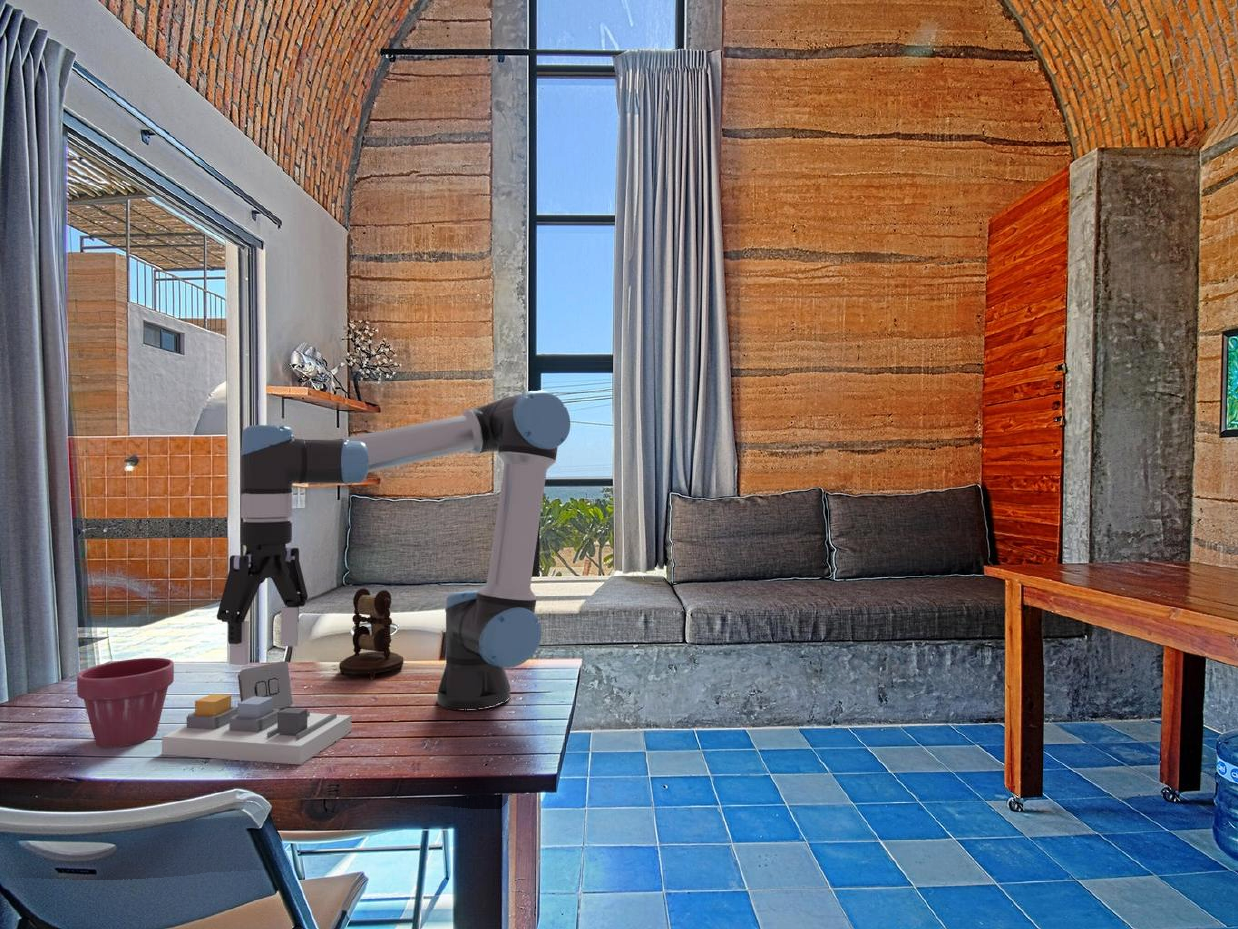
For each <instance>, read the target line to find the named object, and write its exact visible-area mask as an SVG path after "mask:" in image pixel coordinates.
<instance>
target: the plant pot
mask: <svg viewBox="0 0 1238 929" xmlns="http://www.w3.org/2000/svg"><path fill="white" fill-rule="evenodd" d="M174 675H175V665H174V661H173V660H171V659H168V658H165V657H164V658H162V657H143V658H141V657H139V658H132V659H123V660H117V661H113V662H108V663H103V664H99V665H96V666H93V667H89V668H87V669H85V670H83V671H81V672H80V673H78V674H77V677H76V693H77V694H76V695H77V697H78V698H79V699H81V700H83V701H84V705H85V709H86V714H87V717H88V721H89V724H90V728H91V731H92V735H93V738H94V742H95V745H96V746H97V745H98V747H100V748H119V747H124V746H125V747H127V746H130V745H135V744H138V743H141V742H144V741H147V740H149V739H151V738H153V737H154V736H155V735H156V734H157V733H158V729H159V726H160V721H161V716H162V712H163V708H164V705H165V701H166V697H167V692H168V689H169V687H170V686H171V685H172V684H173V683H174V680H175V679H174V678H175V676H174Z"/></svg>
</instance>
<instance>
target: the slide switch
mask: <svg viewBox="0 0 1238 929" xmlns="http://www.w3.org/2000/svg"><path fill="white" fill-rule="evenodd" d="M307 712H308V708H302V707H300V708H299V707H286V708H282V709H281V711H279V712H278V722H277V733H280V734H295V735H296V734H298V733H300V732H301V731H303V730H305V729H307Z"/></svg>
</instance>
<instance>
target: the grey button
mask: <svg viewBox="0 0 1238 929" xmlns="http://www.w3.org/2000/svg"><path fill="white" fill-rule="evenodd" d="M237 707H238V718H249V719H260V718H262V717H264V716H266V715H268V714H270V713H272V712H273V697H255V696H253V697H251V698H249V699H246V700H244V701H242V702H241V701H240V702H237Z"/></svg>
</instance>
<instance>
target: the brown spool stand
mask: <svg viewBox="0 0 1238 929" xmlns="http://www.w3.org/2000/svg"><path fill="white" fill-rule="evenodd" d="M352 601H353V602H352V603H353V604H352V605H353V607H354V611H353V613H354V615H353V616H352V622H353V625H354V629H353V635H352V645H353V647H354V648H353V653H354V654H353V655H349V656H348V657H346V658H345V659H343V660H342V661H340V662H339V666H338V668H339V671H340V674H341V673H344V674H345V673H347V674H354V675H361V674H362V675H365V674H366V675H367V674H369V677H370V679H371V678H373V679H375V676H376V674H377V673H384V672H388V671H392V670H395V669H399V668H401V669H402V668H403V665H404V657H403V656H401V655H399V654H398V653H396V652H392V651H391V650H390V647H391V645H390V644H391V643H392V638H391V636H392V635H391V626H392V624H393V619H392V617H390V616H391V611H390V609H391V605H392V595H391V594H390V591H388V590H386V589H382V590H380V591H378V592H377V594H376V595H371V593H370V591H369V590H368V589H367V588H360V589H358V590H357V591H356V592H355V593H354V596H353V599H352ZM363 615H365V616H363ZM366 616H369V617H366ZM361 623H367V624H370V627H371V631H370V629H369V627H367V626H366V625H361ZM361 650H364V651H365V652H361ZM366 651H367V652H366Z"/></svg>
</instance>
